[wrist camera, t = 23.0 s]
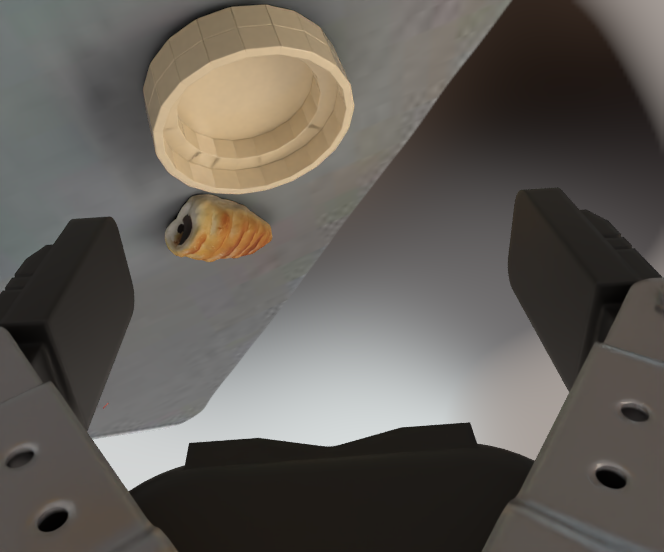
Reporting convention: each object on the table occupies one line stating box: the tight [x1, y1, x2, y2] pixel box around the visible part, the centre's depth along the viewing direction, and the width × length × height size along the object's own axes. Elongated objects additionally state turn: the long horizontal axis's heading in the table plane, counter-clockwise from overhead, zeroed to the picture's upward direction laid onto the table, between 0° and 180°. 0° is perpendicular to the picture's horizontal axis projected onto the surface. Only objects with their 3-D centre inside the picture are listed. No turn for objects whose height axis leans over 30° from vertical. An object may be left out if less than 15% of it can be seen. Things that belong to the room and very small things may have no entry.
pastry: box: [165, 194, 272, 262], centre depth 54 cm, size 9×7×4 cm
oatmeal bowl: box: [143, 4, 354, 194], centre depth 41 cm, size 13×13×4 cm
